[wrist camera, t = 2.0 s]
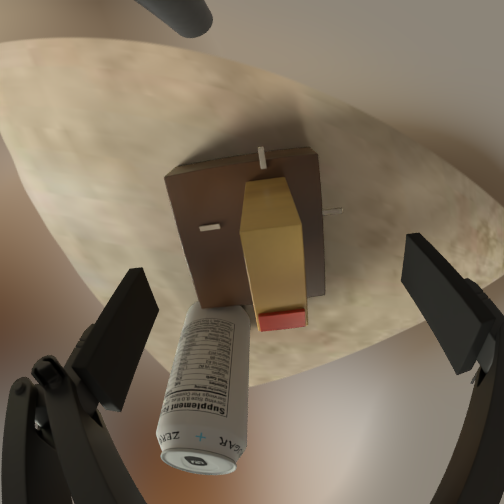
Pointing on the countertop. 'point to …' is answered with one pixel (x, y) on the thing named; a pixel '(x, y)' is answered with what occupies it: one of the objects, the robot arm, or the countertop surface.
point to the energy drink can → (207, 393)
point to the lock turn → (274, 255)
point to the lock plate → (229, 219)
